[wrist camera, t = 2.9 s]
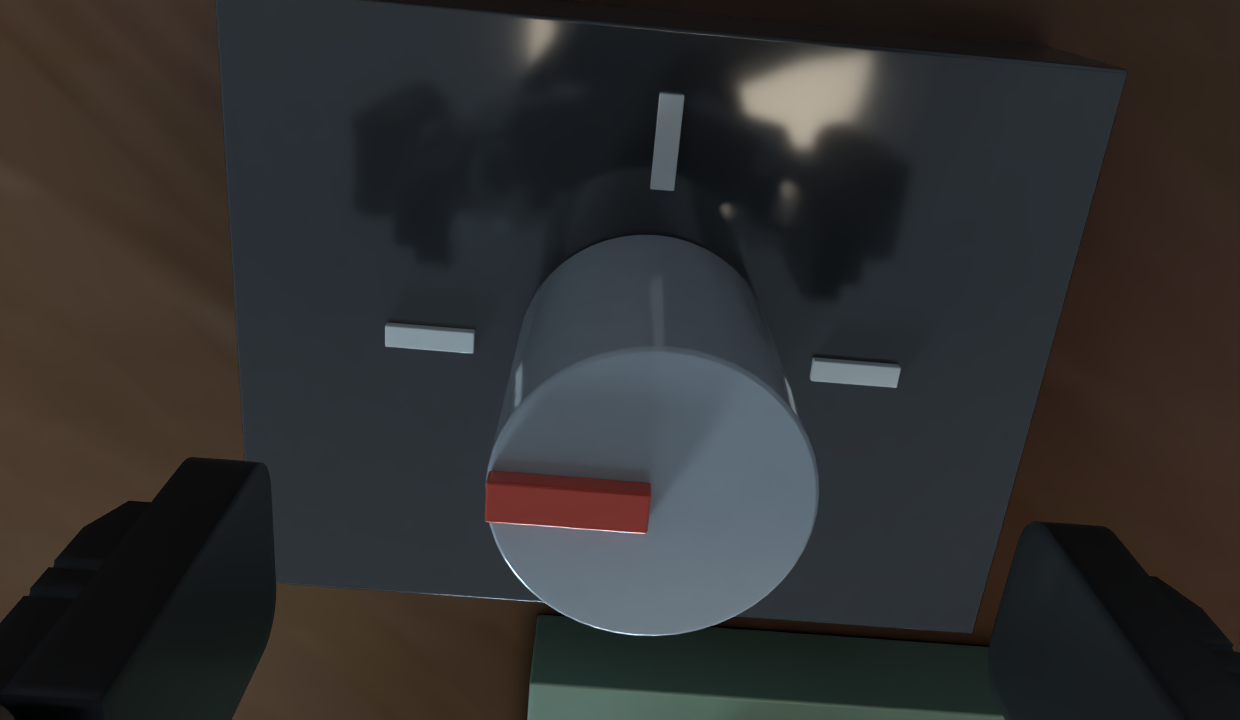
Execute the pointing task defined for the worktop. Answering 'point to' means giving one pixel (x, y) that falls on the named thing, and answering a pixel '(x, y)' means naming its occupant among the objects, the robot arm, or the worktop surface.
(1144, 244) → the worktop surface
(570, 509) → the burner knob
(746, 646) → the block
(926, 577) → the panel
